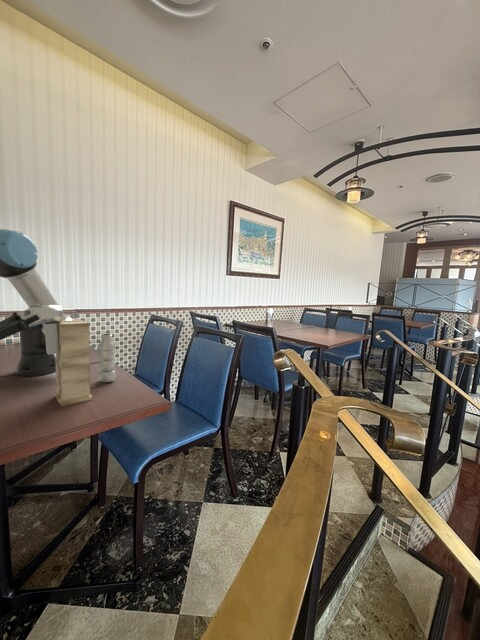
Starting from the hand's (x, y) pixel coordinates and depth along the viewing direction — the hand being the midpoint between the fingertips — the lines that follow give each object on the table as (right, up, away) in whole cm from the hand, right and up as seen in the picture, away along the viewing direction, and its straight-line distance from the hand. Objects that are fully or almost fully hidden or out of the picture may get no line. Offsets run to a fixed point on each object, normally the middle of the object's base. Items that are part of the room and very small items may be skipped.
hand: (45, 308), depth 84 cm
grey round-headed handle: (+3, -6, +4) cm, 8 cm away
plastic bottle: (+7, -30, +26) cm, 40 cm away
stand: (+3, -31, +8) cm, 32 cm away
